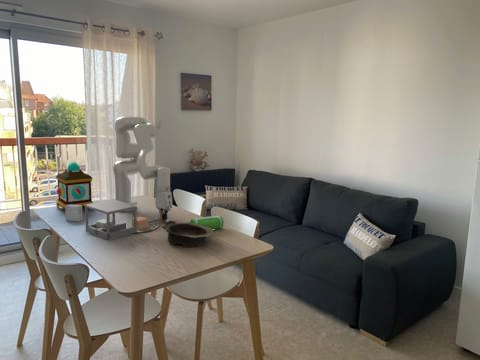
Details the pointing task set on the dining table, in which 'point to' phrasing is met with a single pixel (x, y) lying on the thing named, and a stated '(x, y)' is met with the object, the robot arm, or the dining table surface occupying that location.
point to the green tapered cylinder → (209, 221)
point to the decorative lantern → (73, 187)
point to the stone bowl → (186, 233)
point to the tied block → (145, 221)
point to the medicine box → (73, 213)
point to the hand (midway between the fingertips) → (163, 219)
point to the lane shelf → (107, 209)
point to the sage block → (103, 223)
